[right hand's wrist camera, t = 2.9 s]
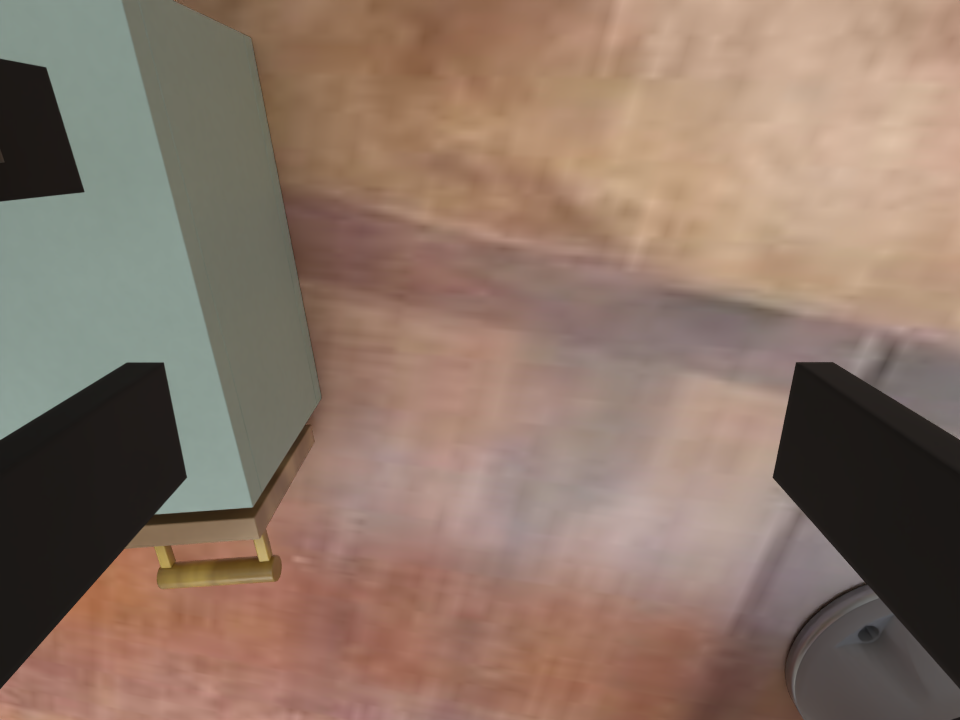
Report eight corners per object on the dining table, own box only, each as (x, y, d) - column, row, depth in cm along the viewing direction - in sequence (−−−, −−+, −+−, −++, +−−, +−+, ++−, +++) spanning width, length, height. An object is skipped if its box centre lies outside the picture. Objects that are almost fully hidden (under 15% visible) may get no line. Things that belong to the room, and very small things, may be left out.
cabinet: (322, 398, 36) (253, 507, 25) (137, 412, 36) (-10, 526, 25) (251, 37, 29) (113, -29, 18) (24, 59, 29) (-244, 8, 18)
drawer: (332, 525, 38) (286, 641, 29) (175, 536, 38) (82, 655, 29) (248, 119, 29) (147, 107, 20) (47, 138, 29) (-138, 134, 21)
